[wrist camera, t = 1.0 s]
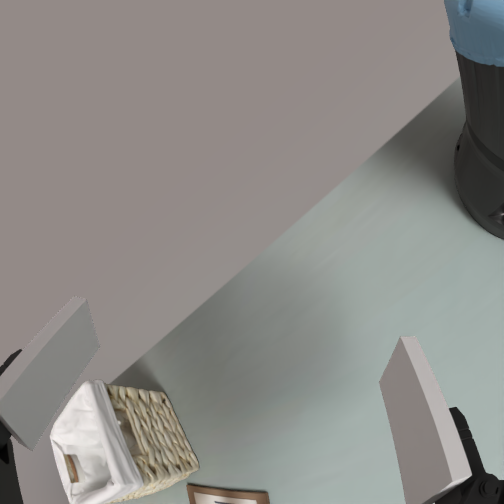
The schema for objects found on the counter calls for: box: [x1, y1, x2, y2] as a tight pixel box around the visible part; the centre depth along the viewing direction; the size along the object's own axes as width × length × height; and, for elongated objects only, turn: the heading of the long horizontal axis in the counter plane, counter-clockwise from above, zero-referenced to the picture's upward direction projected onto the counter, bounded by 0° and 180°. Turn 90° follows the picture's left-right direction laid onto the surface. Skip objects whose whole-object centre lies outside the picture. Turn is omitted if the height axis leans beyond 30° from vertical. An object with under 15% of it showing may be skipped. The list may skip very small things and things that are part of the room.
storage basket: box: [50, 380, 199, 504], centre depth 34 cm, size 24×16×15 cm
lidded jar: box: [67, 454, 85, 482], centre depth 43 cm, size 11×11×9 cm
